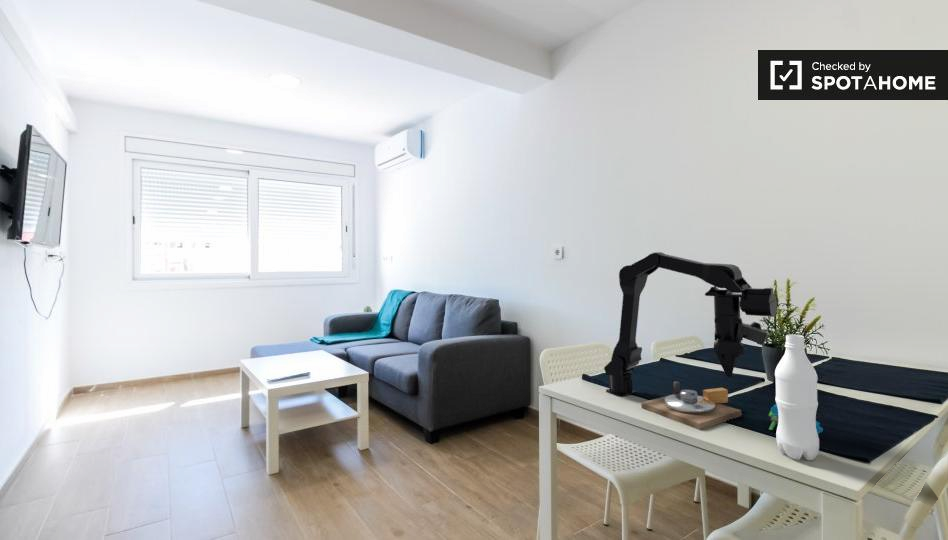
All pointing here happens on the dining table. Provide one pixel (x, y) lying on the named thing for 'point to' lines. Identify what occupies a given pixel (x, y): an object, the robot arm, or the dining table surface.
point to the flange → (696, 400)
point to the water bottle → (796, 401)
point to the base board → (693, 420)
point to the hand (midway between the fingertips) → (729, 374)
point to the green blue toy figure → (775, 419)
